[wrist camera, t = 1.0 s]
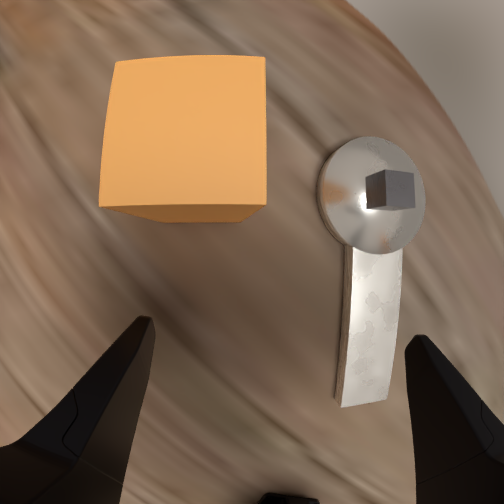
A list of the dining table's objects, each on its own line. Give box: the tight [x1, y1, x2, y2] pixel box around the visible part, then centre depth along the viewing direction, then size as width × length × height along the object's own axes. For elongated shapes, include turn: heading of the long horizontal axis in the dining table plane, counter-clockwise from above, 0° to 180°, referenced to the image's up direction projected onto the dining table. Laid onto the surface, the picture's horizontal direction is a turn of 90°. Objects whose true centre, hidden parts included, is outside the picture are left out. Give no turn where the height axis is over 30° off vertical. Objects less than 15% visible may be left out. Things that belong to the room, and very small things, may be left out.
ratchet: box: [316, 136, 425, 408], centre depth 21 cm, size 22×9×5 cm, turn 179°
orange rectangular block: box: [99, 55, 266, 223], centre depth 16 cm, size 6×6×12 cm
